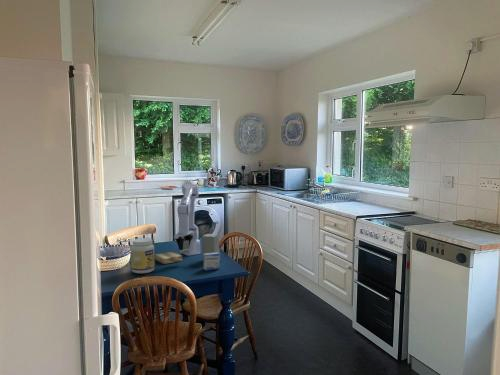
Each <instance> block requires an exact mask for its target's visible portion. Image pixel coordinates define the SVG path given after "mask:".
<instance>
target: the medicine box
mask: <svg viewBox="0 0 500 375" xmlns="http://www.w3.org/2000/svg"><path fill="white" fill-rule="evenodd" d="M203 256H204V261H203V269H204V270H205V271H213V270H220V260H219V253H217V252H214V253H204V254H203V253H202V257H203Z"/></svg>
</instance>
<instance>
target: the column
mask: <svg viewBox="0 0 500 375" xmlns="http://www.w3.org/2000/svg"><path fill="white" fill-rule="evenodd" d="M178 250H179V249H178ZM188 252H189V240H187V239H184V242H183V250H179V253H181V254H183V253H188Z"/></svg>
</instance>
